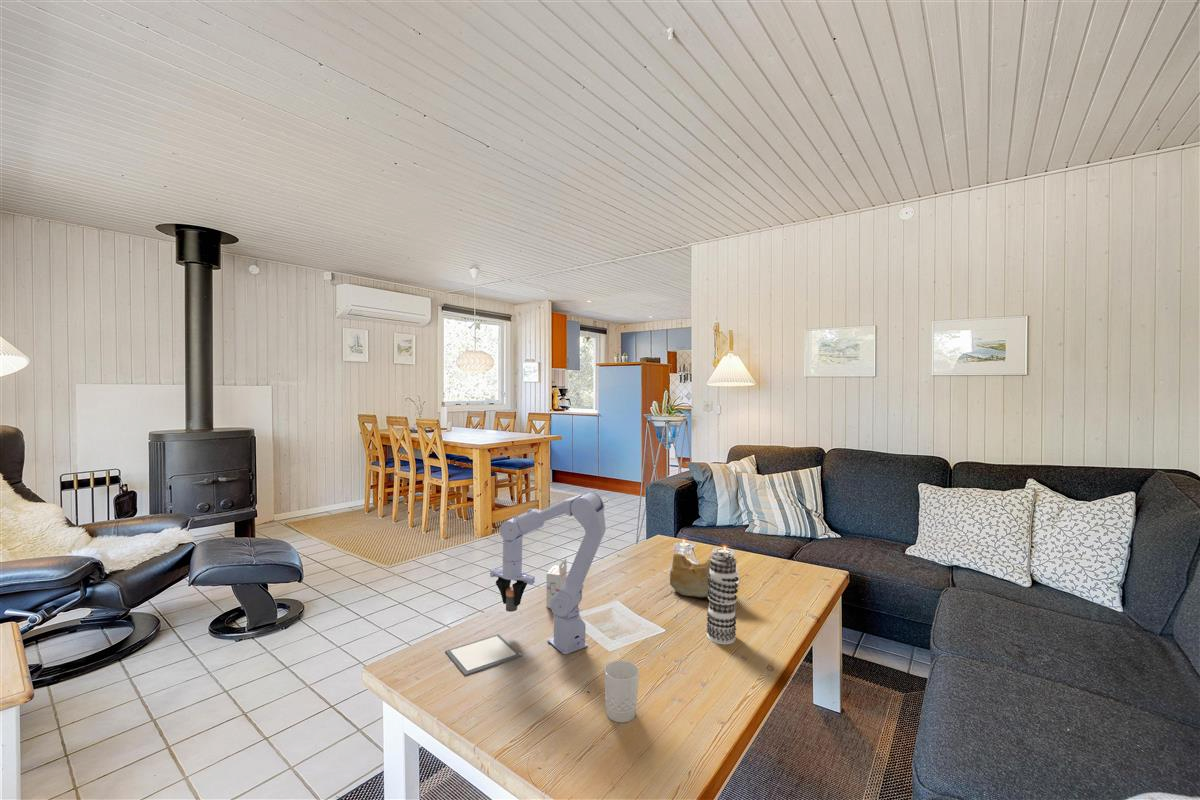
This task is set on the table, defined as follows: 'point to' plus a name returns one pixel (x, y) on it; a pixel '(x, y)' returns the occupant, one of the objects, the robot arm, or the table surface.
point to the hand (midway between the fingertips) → (511, 603)
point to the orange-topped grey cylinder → (510, 600)
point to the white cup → (621, 690)
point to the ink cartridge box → (555, 580)
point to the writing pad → (482, 654)
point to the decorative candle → (722, 598)
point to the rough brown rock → (689, 577)
